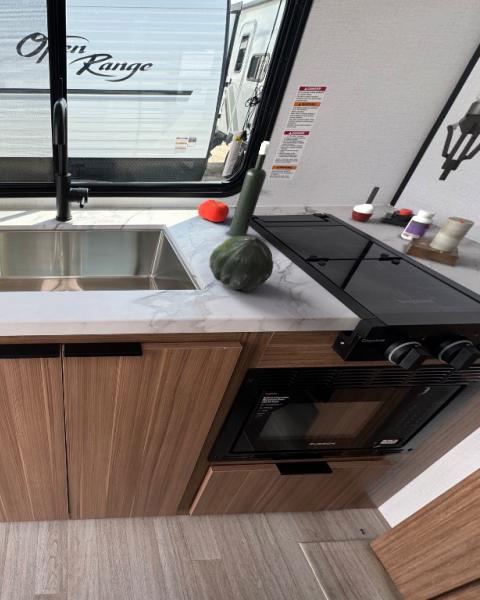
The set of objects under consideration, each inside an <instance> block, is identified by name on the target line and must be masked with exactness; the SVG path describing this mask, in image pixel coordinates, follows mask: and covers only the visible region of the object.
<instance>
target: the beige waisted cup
mask: <svg viewBox="0 0 480 600" xmlns="http://www.w3.org/2000/svg"><path fill="white" fill-rule="evenodd" d="M474 225H475V222H474V221H472V220H471V219H467V218H464V217H458V216H457V217H456V216H449V217H448V218H447V219H446V221H445V222H444V223H443V225H442V226H441V228H440V229H439V231H438V232H437V233H436V235H435V236H434V237H433V239H432V240H431V241H432V242H431V243H430V247H432V248H434V249H437V250H440V251H445V252H453V251H454V249H455V248H456V247H458V246H459V245H460V243H461V242H462V240H463V239H464V238H465V236H466V235H467V234H468V233H469V231H471V229H472V227H474Z"/></svg>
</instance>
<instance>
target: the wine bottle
mask: <svg viewBox="0 0 480 600" xmlns="http://www.w3.org/2000/svg"><path fill="white" fill-rule="evenodd" d="M270 144H271V143H270V141H267V140H263V142H261V146H260V150H259V152H258V155H257V159H256V163H255V166H254V167H253V168H250V169H248V171H246V173H245V177H244V180H243V183H242V187H241V189H240V193H239V197H238V200H237V203H236V206H235V209H234V213H233V216H232V220H231V223H230V226H229V229H228V233H227V234H228V235H229V236H230V237H234V236H247V233H248V230H249V227H250V225H251V222H252V219H253V216H254V213H255V210H256V207H257V204H258V201H259V198H260V195H261V192H262V189H263V186H264V185H265V184H264V183H265V181H266V178H267V172H266V170H265V169H264V168H263V165H264V163H265V159H266V156H267V155H268V152H269V148H270V146H271V145H270Z"/></svg>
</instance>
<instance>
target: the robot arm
mask: <svg viewBox="0 0 480 600" xmlns="http://www.w3.org/2000/svg"><path fill="white" fill-rule="evenodd" d="M458 127H459V130H460V133H461V134H460V136H459V137H458V139H457V141H456V142H455V144H454V145H453V147H452V149H451V150H450V152H449V149H450V145H451V143H452V139H453V136H454V132H455V131H456V130H457V129H458ZM446 131H447V134H446V138H445V141H444V145H443V148H442V151H441V157H442V158H445V161H444V162H443V163H442V165H441V167H440V169H441V170H443V171H442V173H441V174H440V176H439V178H438V181H443V182H445V181H446V179H447V178H448V176H449V175H450V173H451V172H453V171H457V170H458V168H459V167H460V165H461V163H462V162H463V161H467V160H473V158H474V157H475V156H477V154H478V153H479V152H480V142H479V143H478V144H477V145H476V146H475V147H474V148H473V149H472V150H471V148H472V147H473V145H474V143H475V142H476V141H477V139H478V138H479V136H480V90H479V91H478V93H477V94H476V96H475V101H473V102H472V103H471V104H470V106H469V108H468V110H467V111H466V113H465V114H464V116H463V117H462V118H461V119H459V120H458V122H454V123H452V124H448V125H447V126H446ZM468 135H471V136H470V137H469V139H468V141H467V143H466V144H465V146H464V147H463V149H462V150H461V152H460V154H459V156H458V157H457V158H456V159H455V158H454V157H455V155H456V154H457V152H458V150H459V149H460V147H461V146H462V144H463V142H464V141H465V139H466V138H467V137H468ZM470 150H471V151H470ZM469 151H470V152H469Z"/></svg>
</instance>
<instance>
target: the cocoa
mask: <svg viewBox="0 0 480 600" xmlns="http://www.w3.org/2000/svg"><path fill="white" fill-rule="evenodd" d="M379 190H380V187H379V186H374V187H373V189H372V190H371V192H370V194H369V196H368V198H367V200H366V202H365V203H364V204H359V205H355V206H354V207H353V210H352V213H351V218H352V220H353V221H356V222H362V223H365V222H367V221H369V220H370V219H371V217H372V216H373V215H374V212H375V211H376V206H375V205H374V204H373V201H374V200H375V198H376V196H377V194H378V192H379Z"/></svg>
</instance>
